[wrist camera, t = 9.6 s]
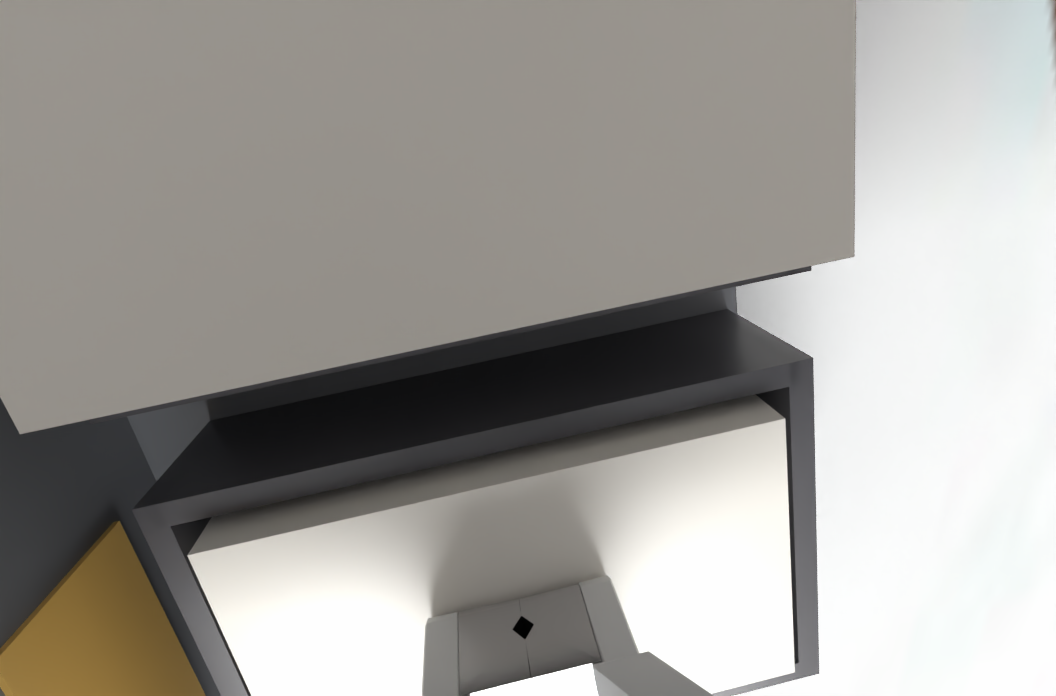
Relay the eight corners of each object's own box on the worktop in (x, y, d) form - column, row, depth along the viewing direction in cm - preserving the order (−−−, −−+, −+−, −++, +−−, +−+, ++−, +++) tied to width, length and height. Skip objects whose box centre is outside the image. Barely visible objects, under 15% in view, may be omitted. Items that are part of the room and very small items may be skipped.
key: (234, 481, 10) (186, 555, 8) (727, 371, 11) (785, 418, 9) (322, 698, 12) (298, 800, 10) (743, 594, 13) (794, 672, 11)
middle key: (-83, -92, 6) (-314, -197, 4) (743, -223, 7) (857, -365, 5) (121, 366, 8) (20, 434, 6) (764, 232, 8) (854, 256, 7)
